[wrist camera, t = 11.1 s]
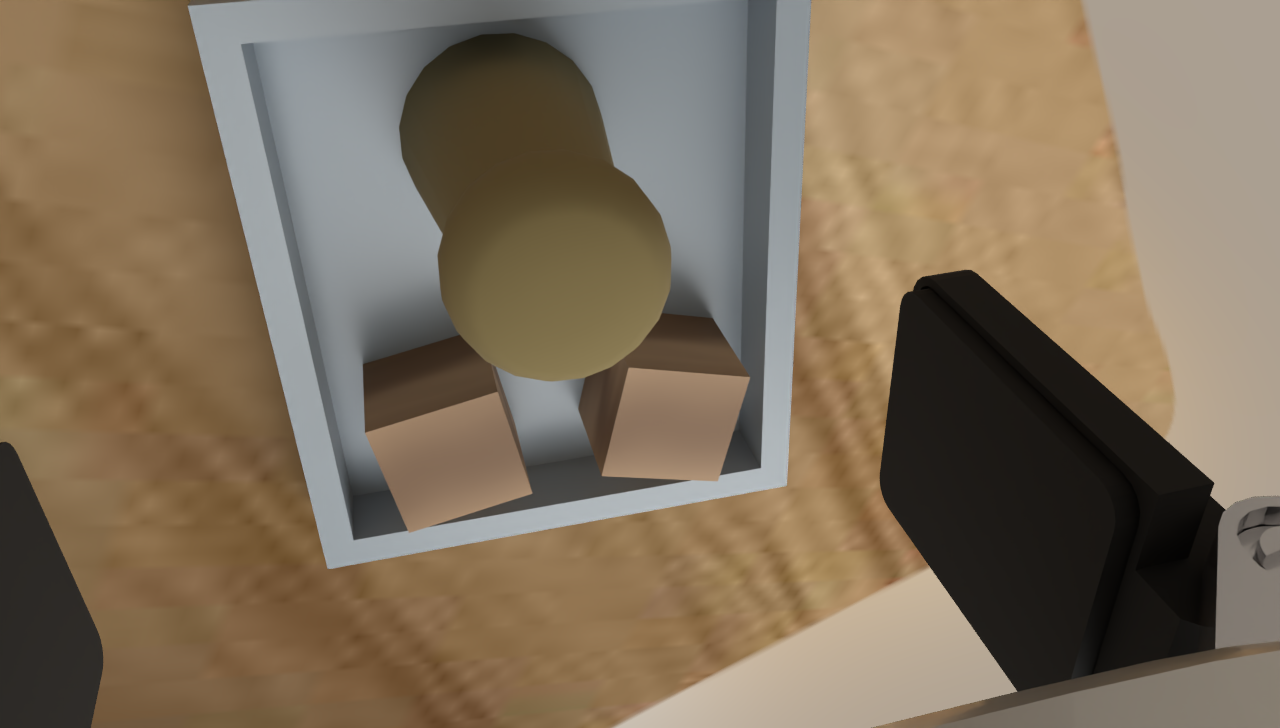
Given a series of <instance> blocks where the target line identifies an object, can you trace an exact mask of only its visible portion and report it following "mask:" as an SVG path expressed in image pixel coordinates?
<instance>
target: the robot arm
mask: <svg viewBox="0 0 1280 728" xmlns="http://www.w3.org/2000/svg"><path fill="white" fill-rule="evenodd" d="M1213 485H1214V482H1213V481H1212V480H1210V479H1209V478H1208V477H1207V476H1206V475H1205V474H1204V473H1202V472H1201V471H1200V470H1199V469H1198V468H1197V467H1195V466H1194V465H1193V464H1192V463H1191V462H1190V461H1189V460H1188V459H1187V458H1185V457H1184V456H1183V455H1182V454H1181V453H1180V452H1179V451H1177V450H1176V449H1175V448H1174V447H1173V446H1172V445H1171V444H1170V443H1168V442H1167V441H1166V440H1165V439H1164V438H1163V437H1162V436H1160V435H1159V434H1158V433H1157V432H1156V431H1155V430H1154V429H1153V428H1151V427H1150V426H1149V425H1148V424H1147V423H1146V422H1145V421H1143V420H1142V419H1141V418H1140V417H1139V416H1138V415H1137V414H1136V413H1134V412H1133V411H1132V410H1131V409H1130V408H1129V407H1128V406H1126V405H1125V404H1124V403H1123V402H1122V401H1121V400H1120V399H1119V398H1117V397H1116V396H1115V395H1114V394H1113V393H1112V392H1111V391H1109V390H1108V389H1107V388H1106V387H1105V386H1104V385H1103V384H1102V383H1100V382H1099V381H1098V380H1097V379H1096V378H1095V377H1094V376H1092V375H1091V374H1090V373H1089V372H1088V371H1087V370H1086V369H1084V368H1083V367H1082V366H1081V365H1080V364H1079V363H1078V362H1077V361H1075V360H1074V359H1073V358H1072V357H1071V356H1070V355H1069V354H1067V353H1066V352H1065V351H1064V350H1063V349H1062V348H1061V347H1060V346H1058V345H1057V344H1056V343H1055V342H1054V341H1053V340H1052V339H1050V338H1049V337H1048V336H1047V335H1046V334H1045V333H1044V332H1043V331H1041V330H1040V329H1039V328H1038V327H1037V326H1036V325H1035V324H1033V323H1032V322H1031V321H1030V320H1029V319H1028V318H1027V317H1026V316H1024V315H1023V314H1022V313H1021V312H1020V311H1019V310H1018V309H1016V308H1015V307H1014V306H1013V305H1012V304H1011V303H1010V302H1009V301H1007V300H1006V299H1005V298H1004V297H1003V296H1002V295H1001V294H999V293H998V292H997V291H996V290H995V289H994V288H993V287H991V286H990V285H989V284H988V283H987V282H986V281H985V280H984V279H982V278H981V277H980V276H979V275H978V274H977V273H975V272H973V271H972V270H962V271H956V272H949V273H943V274H937V275H931V276H925V277H922V278H920V279H919V280H918V281H917V283H916V284H915V286H914V289H913V291H911V292H907V293H906V294H904V296H903V298H902V301H901V305H900V313H899V321H898V329H897V338H896V346H895V354H894V362H893V370H892V379H891V387H890V395H889V403H888V412H887V420H886V428H885V436H884V444H883V453H882V461H881V469H880V486H881V491H882V495H883V498H884V500H885V503H886V504H887V506H888V508H889V509H890V511H891V512H892V514H893V515H894V516H895V518H896V519H897V521H898V522H899V524H900V525H901V526H902V528H903V529H904V531H905V532H906V534H907V535H908V536H909V538H910V539H911V541H912V542H913V543H914V545H915V546H916V548H917V549H918V551H919V552H920V553H921V555H922V556H923V558H924V559H925V561H926V562H927V563H928V565H929V566H930V568H931V569H932V570H933V572H934V573H935V575H936V576H937V578H938V579H939V580H940V582H941V583H942V585H943V586H944V588H945V589H946V590H947V592H948V593H949V595H950V596H951V597H952V599H953V600H954V602H955V603H956V605H957V606H958V607H959V609H960V610H961V612H962V613H963V614H964V616H965V617H966V619H967V620H968V622H969V623H970V624H971V626H972V627H973V629H974V630H975V632H977V634H978V636H979V637H980V639H981V640H982V642H983V643H984V644H985V646H986V647H987V648H988V650H989V651H990V653H991V654H992V656H993V657H994V659H995V660H996V661H997V663H998V664H999V666H1000V667H1001V668H1002V670H1003V671H1004V673H1005V674H1006V676H1007V677H1008V678H1009V680H1010V681H1011V683H1012V684H1013V686H1014V687H1015V688H1016V690H1017V691H1018V692H1014V693H1010V694H1007V695H1002V696H998V697H995V698H990V699H986V700H982V701H978V702H974V703H970V704H966V705H962V706H958V707H954V708H950V709H946V710H942V711H938V712H933V713H930V714H925V715H922V716H917V717H914V718H909V719H906V720H901V721H897V722H893V723H889V724H885V725H881V726H877V727H873V728H1280V496H1261V497H1251V498H1248V499H1245V500H1242V501H1239V502H1235V503H1234V504H1233V505H1231V506H1230V507H1229V508H1228V509H1227V510H1225V509H1224V508H1223V507H1222V506H1221V505H1220V504H1218V503H1217V502H1216V501H1215V500H1214V499H1213V498H1212V497H1211V496H1210V494H1211V491H1212V488H1213ZM102 670H103V650H102V644H101V639H100V636H99V634H98V631H97V629H96V627H95V624H94V622H93V620H92V618H91V615H90V613H89V611H88V609H87V607H86V604H85V602H84V600H83V598H82V596H81V593H80V591H79V589H78V587H77V585H76V582H75V580H74V578H73V576H72V574H71V571H70V569H69V567H68V565H67V562H66V560H65V558H64V556H63V554H62V551H61V549H60V547H59V545H58V543H57V540H56V538H55V536H54V534H53V532H52V529H51V527H50V525H49V523H48V521H47V518H46V516H45V514H44V512H43V509H42V507H41V505H40V503H39V501H38V498H37V496H36V494H35V492H34V490H33V487H32V485H31V483H30V481H29V479H28V476H27V474H26V472H25V470H24V468H23V465H22V463H21V461H20V459H19V457H18V454H17V453H16V451H15V449H14V448H13V447H12V445H11V444H10V443H7V442H1V443H0V728H91V723H92V718H93V714H94V709H95V704H96V699H97V695H98V690H99V685H100V680H101V676H102Z"/></svg>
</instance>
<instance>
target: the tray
mask: <svg viewBox="0 0 1280 728" xmlns="http://www.w3.org/2000/svg"><path fill="white" fill-rule="evenodd" d="M188 9H189V13H190V17H191V21H192V25H193V29H194V33H195V37H196V41H197V45H198V49H199V53H200V57H201V61H202V65H203V69H204V73H205V77H206V81H207V85H208V89H209V93H210V97H211V101H212V105H213V109H214V113H215V117H216V121H217V125H218V129H219V133H220V137H221V141H222V146H223V150H224V154H225V158H226V162H227V166H228V170H229V174H230V178H231V182H232V186H233V190H234V194H235V198H236V202H237V206H238V210H239V214H240V218H241V222H242V226H243V230H244V234H245V238H246V242H247V246H248V250H249V254H250V258H251V262H252V266H253V270H254V274H255V278H256V282H257V286H258V290H259V294H260V298H261V302H262V306H263V310H264V314H265V318H266V322H267V326H268V330H269V334H270V339H271V343H272V347H273V351H274V355H275V359H276V363H277V367H278V371H279V375H280V379H281V383H282V387H283V391H284V395H285V399H286V403H287V407H288V411H289V415H290V419H291V423H292V427H293V431H294V435H295V439H296V443H297V447H298V451H299V455H300V459H301V463H302V467H303V471H304V475H305V479H306V483H307V487H308V491H309V495H310V499H311V503H312V507H313V511H314V515H315V519H316V523H317V527H318V532H319V536H320V540H321V544H322V548H323V552H324V556H325V560H326V564H327V568H328V569H331V568H337V567H342V566H348V565H354V564H359V563H365V562H370V561H376V560H381V559H387V558H392V557H398V556H403V555H409V554H414V553H420V552H425V551H431V550H436V549H442V548H447V547H453V546H458V545H464V544H469V543H475V542H480V541H486V540H491V539H497V538H502V537H508V536H513V535H519V534H524V533H530V532H535V531H541V530H546V529H552V528H557V527H563V526H568V525H574V524H579V523H585V522H590V521H596V520H601V519H607V518H612V517H618V516H623V515H629V514H634V513H640V512H646V511H651V510H657V509H662V508H668V507H673V506H679V505H684V504H690V503H695V502H701V501H706V500H712V499H717V498H723V497H728V496H734V495H739V494H745V493H750V492H756V491H761V490H767V489H772V488H778V487H783V486H787V472H788V452H789V432H790V412H791V392H792V372H793V353H794V333H795V313H796V293H797V273H798V253H799V233H800V213H801V193H802V173H803V153H804V133H805V113H806V93H807V73H808V53H809V33H810V13H811V0H191V1H190V3H189V5H188ZM507 33H516V34H519V35H523V36H526V37H529V38H533V39H536V40H540V41H543V42H547V43H548V44H549V45H551V46H552V47H554V48H555V49H557V50H558V51H560V52H561V53H563V54H564V55H565V56H567V57H568V58H570V59H571V60H573V61H574V63H575V64H576V65H577V67H578V68H579V69H580V71H581V72H582V73H583V75H584V76H585V77H586V79H587V80H588V81H589V83H590V84H591V85H592V88H593V91H594V94H595V97H596V100H597V103H598V106H599V109H600V112H601V115H602V119H603V123H604V127H605V131H606V135H607V139H608V143H609V147H610V151H611V155H612V159H613V163H614V167H616V168H617V169H619V170H620V171H622V172H623V173H625V174H626V175H628V176H630V177H631V178H633V179H634V180H635V182H636V183H637V184H638V185H639V187H640V188H641V189H642V191H643V192H644V193H645V195H646V196H647V197H648V198H649V200H650V201H651V202H652V204H653V205H654V206H655V208H656V209H657V210H658V212H659V213H660V215H661V217H662V220H663V224H664V227H665V230H666V233H667V236H668V239H669V243H670V246H671V285H670V292H669V294H668V297H667V300H666V302H665V305H664V308H663V310H662V313H665V314H676V315H686V316H696V317H707V318H713V319H714V321H715V323H716V324H717V326H718V327H719V329H720V330H721V332H722V333H723V335H724V337H725V338H726V340H727V341H728V343H729V344H730V346H731V348H732V349H733V351H734V352H735V354H736V355H737V357H738V359H739V360H740V362H741V363H742V365H743V366H744V368H745V370H746V371H747V373H748V374H749V376H750V380H749V383H748V386H747V390H746V393H745V396H744V399H743V402H742V406H741V409H740V412H739V415H738V419H737V422H736V425H735V428H734V431H733V435H732V438H731V441H730V444H729V447H728V451H727V454H726V457H725V460H724V463H723V467H722V470H721V473H720V476H719V479H718V481H698V480H675V479H653V478H630V477H608V476H601V473H600V470H599V467H598V465H597V462H596V459H595V456H594V453H593V450H592V447H591V445H590V442H589V439H588V436H587V433H586V430H585V427H584V425H583V422H582V419H581V416H580V413H579V410H578V407H579V403H580V398H581V394H582V389H583V385H584V381H585V378H580V379H571V380H562V381H553V382H551V381H542V380H536V379H530V378H524V377H518V376H514V375H512V374H510V373H508V372H506V371H504V370H502V369H500V368H498V367H496V369H497V372H498V375H499V378H500V381H501V384H502V387H503V390H504V393H505V396H506V399H507V402H508V405H509V408H510V411H511V414H512V417H513V419H514V422H515V426H516V430H517V434H518V438H519V442H520V446H521V450H522V454H523V458H524V462H525V466H526V470H527V474H528V478H529V482H530V486H531V490H532V494H530V495H527V496H523V497H520V498H517V499H514V500H511V501H508V502H505V503H502V504H498V505H495V506H492V507H489V508H486V509H483V510H480V511H477V512H473V513H470V514H467V515H464V516H461V517H458V518H455V519H452V520H448V521H445V522H442V523H439V524H436V525H433V526H430V527H427V528H423V529H420V530H417V531H414V532H411V533H409V532H408V530H407V527H406V525H405V523H404V520H403V518H402V516H401V514H400V511H399V509H398V507H397V505H396V502H395V500H394V498H393V496H392V493H391V491H390V489H389V486H388V484H387V482H386V480H385V477H384V475H383V473H382V471H381V468H380V466H379V464H378V461H377V459H376V457H375V455H374V452H373V450H372V448H371V446H370V443H369V441H368V439H367V437H366V434H365V420H364V389H363V364H365V363H369V362H372V361H375V360H378V359H382V358H385V357H388V356H392V355H395V354H398V353H401V352H405V351H408V350H411V349H415V348H418V347H421V346H425V345H428V344H431V343H434V342H438V341H441V340H444V339H448V338H451V337H454V336H457V335H460V334H459V333H458V332H457V331H456V329H455V327H454V325H453V322H452V320H451V318H450V316H449V314H448V312H447V310H446V308H445V306H444V303H443V301H442V297H441V290H440V280H439V268H438V257H437V254H438V250H439V247H440V243H441V239H442V235H443V234H442V232H441V231H440V229H439V227H438V225H437V224H436V222H435V220H434V218H433V217H432V215H431V213H430V211H429V210H428V208H427V206H426V205H425V203H424V201H423V199H422V198H421V196H420V194H419V192H418V191H417V189H416V187H415V185H414V183H413V181H412V179H411V176H410V174H409V172H408V170H407V168H406V165H405V163H404V161H403V159H402V151H401V141H400V132H399V125H400V120H401V116H402V112H403V108H404V103H405V99H406V95H407V94H408V92H409V90H410V89H411V87H412V86H413V84H414V82H415V81H416V79H417V78H418V76H419V74H420V73H421V71H422V70H423V68H424V67H425V66H426V65H428V64H429V63H430V62H431V61H432V60H434V59H435V58H436V57H437V56H439V55H440V54H441V53H442V52H443V51H445V50H446V49H447V48H448V47H450V46H452V45H455V44H457V43H460V42H463V41H465V40H468V39H471V38H473V37H476V36H479V35H482V34H507Z"/></svg>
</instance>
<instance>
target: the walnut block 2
mask: <svg viewBox="0 0 1280 728" xmlns="http://www.w3.org/2000/svg"><path fill="white" fill-rule="evenodd" d="M749 380H750V376H749V374H748V373H747V371H746V370H745V368H744V366H743V365H742V363H741V362H740V360H739V359H738V357H737V355H736V354H735V352H734V351H733V349H732V348H731V346H730V344H729V343H728V341H727V340H726V338H725V337H724V335H723V333H722V332H721V330H720V329H719V327H718V326H717V324H716V323H715V321H714V319H713V318H707V317H696V316H686V315H676V314H665V313H661V316H660V319H659V320H658V322H657V323H656V324H655V325H654V327H653V328H652V329H651V331H650V332H649V333H648V335H647V336H646V337H645V339H644V340H643V341H642V342H641V344H640V345H639V346H638V347H637V348H636V349H635V350H634V351H632V352H631V353H630V354H628V355H627V356H625V357H624V358H623V359H621V360H620V361H619V362H617V363H616V364H615V365H613V366H612V367H610V368H608V369H605V370H602V371H600V372H597V373H595V374H592V375H590V376H587V377H585V381H584V385H583V389H582V394H581V398H580V403H579V407H578V410H579V413H580V416H581V419H582V422H583V425H584V427H585V430H586V433H587V436H588V439H589V442H590V445H591V447H592V450H593V453H594V456H595V459H596V462H597V465H598V467H599V470H600V473H601V476H608V477H630V478H653V479H675V480H698V481H718V479H719V476H720V473H721V470H722V467H723V463H724V460H725V457H726V454H727V451H728V447H729V444H730V441H731V438H732V435H733V431H734V428H735V425H736V422H737V419H738V415H739V412H740V409H741V406H742V402H743V399H744V396H745V393H746V390H747V386H748V383H749Z"/></svg>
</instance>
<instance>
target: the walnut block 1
mask: <svg viewBox="0 0 1280 728" xmlns="http://www.w3.org/2000/svg"><path fill="white" fill-rule="evenodd" d="M363 389H364V420H365V434H366V437H367V439H368V441H369V443H370V446H371V448H372V450H373V452H374V455H375V457H376V459H377V461H378V464H379V466H380V468H381V471H382V473H383V475H384V477H385V480H386V482H387V484H388V486H389V489H390V491H391V493H392V496H393V498H394V500H395V502H396V505H397V507H398V509H399V511H400V514H401V516H402V518H403V520H404V523H405V525H406V527H407V530H408V532H409V533H411V532H414V531H417V530H420V529H423V528H427V527H430V526H433V525H436V524H439V523H442V522H445V521H448V520H452V519H455V518H458V517H461V516H464V515H467V514H470V513H473V512H477V511H480V510H483V509H486V508H489V507H492V506H495V505H498V504H502V503H505V502H508V501H511V500H514V499H517V498H520V497H523V496H527V495H530V494H532V490H531V486H530V482H529V478H528V474H527V470H526V466H525V462H524V458H523V454H522V450H521V446H520V442H519V438H518V434H517V430H516V426H515V422H514V419H513V417H512V414H511V411H510V408H509V405H508V402H507V399H506V396H505V393H504V390H503V387H502V384H501V381H500V378H499V375H498V372H497V369H496V366H494V365H492V364H490V363H488V362H486V361H485V360H484V359H483V358H482V357H481V356H480V355H479V354H478V353H477V352H476V351H475V350H474V349H473V348H472V347H471V346H470V345H469V344H468V343H467V342H466V341H465V340H464V339H463V338H462V337H461V335H457V336H454V337H451V338H448V339H444V340H441V341H438V342H434V343H431V344H428V345H425V346H421V347H418V348H415V349H411V350H408V351H405V352H401V353H398V354H395V355H392V356H388V357H385V358H382V359H378V360H375V361H372V362H369V363H365V364H363Z"/></svg>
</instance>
